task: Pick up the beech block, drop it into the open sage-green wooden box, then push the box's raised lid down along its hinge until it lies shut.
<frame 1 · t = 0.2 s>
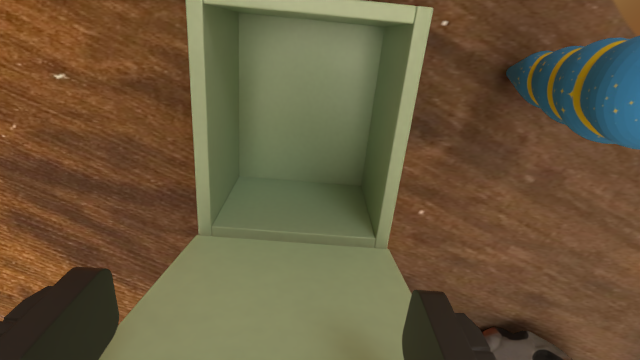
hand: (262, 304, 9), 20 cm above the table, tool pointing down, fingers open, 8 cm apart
lid: (282, 322, 14), point 16 cm above the table, hinge at 80.0°
ornament: (510, 69, 26), on the table
box: (306, 105, 27), on the table
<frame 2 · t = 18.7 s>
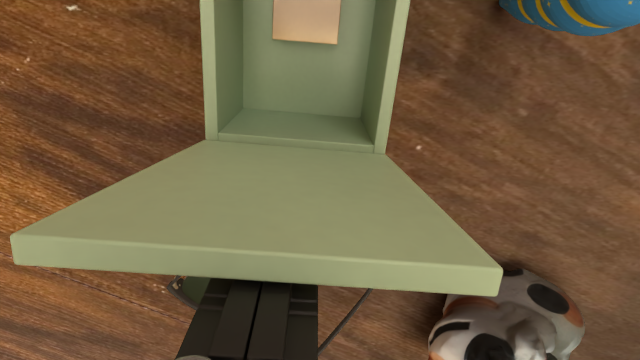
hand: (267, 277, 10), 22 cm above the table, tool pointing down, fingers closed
lid: (286, 184, 15), point 16 cm above the table, hinge at 82.3°, touching gripper
block: (308, 9, 27), point 1 cm above the table, touching box
sunglasses: (293, 245, 36), on the table
box: (307, 36, 28), on the table
lucky cat figurine: (475, 311, 39), on the table
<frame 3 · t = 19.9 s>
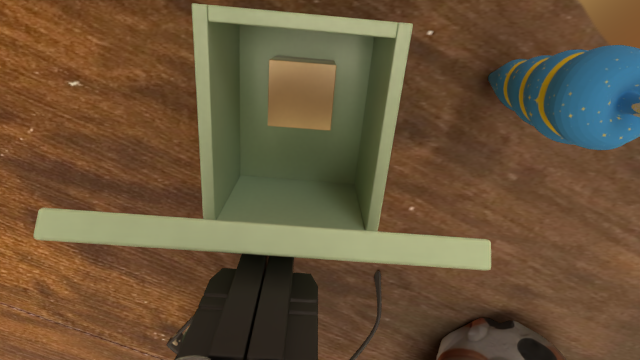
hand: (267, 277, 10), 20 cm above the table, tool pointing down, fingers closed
lid: (284, 240, 16), point 15 cm above the table, hinge at 57.0°, touching gripper
block: (303, 87, 27), point 1 cm above the table, touching box
ornament: (491, 74, 28), on the table
sunglasses: (290, 297, 37), on the table
box: (302, 109, 29), on the table
lucky cat figurine: (468, 356, 40), on the table
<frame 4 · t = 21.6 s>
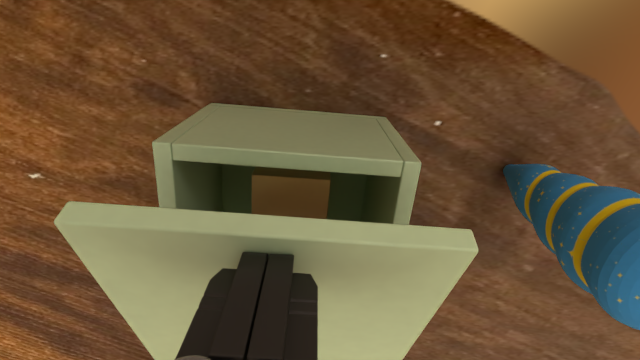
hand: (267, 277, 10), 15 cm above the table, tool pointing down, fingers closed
lid: (275, 330, 15), point 12 cm above the table, hinge at 21.5°, touching gripper
block: (294, 182, 24), point 1 cm above the table, touching box
ornament: (507, 165, 25), on the table
box: (293, 201, 26), on the table
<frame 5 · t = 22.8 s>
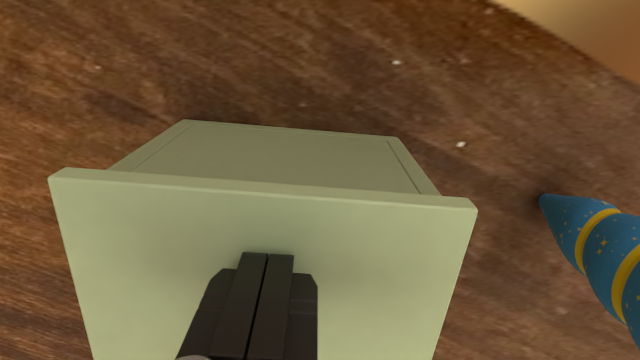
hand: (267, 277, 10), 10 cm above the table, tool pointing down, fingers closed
ornament: (542, 193, 21), on the table
box: (285, 235, 21), on the table
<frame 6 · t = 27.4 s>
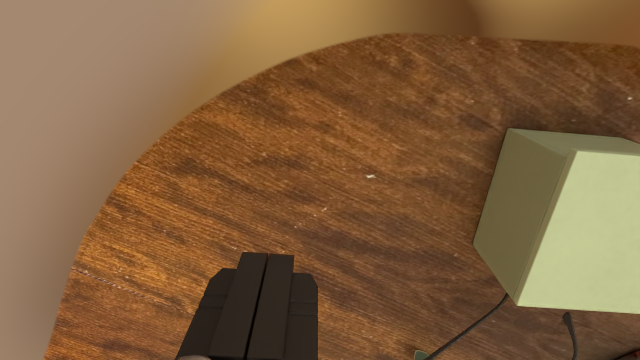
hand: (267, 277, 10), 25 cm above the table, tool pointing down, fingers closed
lid: (609, 238, 28), point 9 cm above the table, hinge at 0.0°
sunglasses: (489, 332, 45), on the table
box: (541, 194, 37), on the table
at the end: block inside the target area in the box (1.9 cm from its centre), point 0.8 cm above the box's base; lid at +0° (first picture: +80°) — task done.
